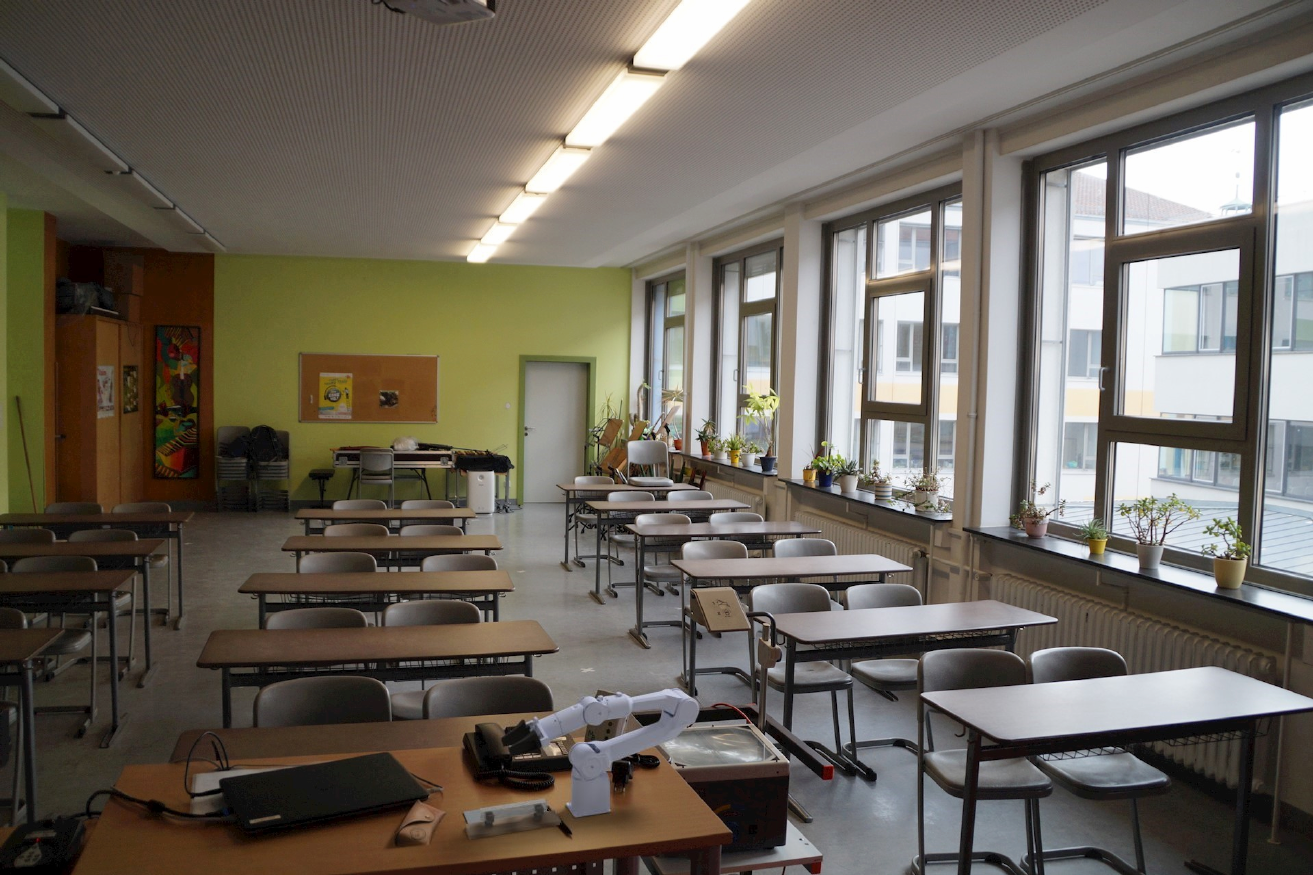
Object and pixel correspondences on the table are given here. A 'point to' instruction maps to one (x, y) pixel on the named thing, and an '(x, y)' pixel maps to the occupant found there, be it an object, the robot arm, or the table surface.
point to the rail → (512, 809)
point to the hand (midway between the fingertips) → (505, 747)
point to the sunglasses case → (418, 825)
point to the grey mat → (477, 816)
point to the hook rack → (512, 824)
